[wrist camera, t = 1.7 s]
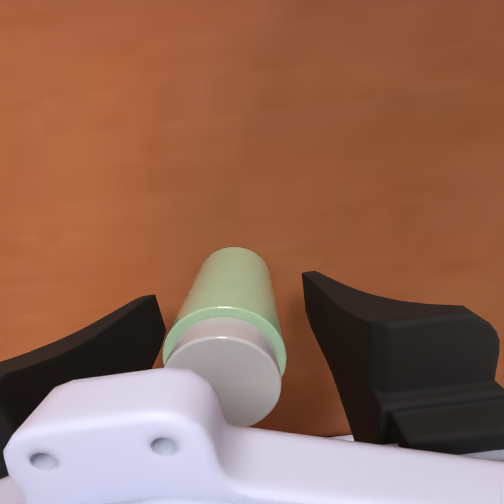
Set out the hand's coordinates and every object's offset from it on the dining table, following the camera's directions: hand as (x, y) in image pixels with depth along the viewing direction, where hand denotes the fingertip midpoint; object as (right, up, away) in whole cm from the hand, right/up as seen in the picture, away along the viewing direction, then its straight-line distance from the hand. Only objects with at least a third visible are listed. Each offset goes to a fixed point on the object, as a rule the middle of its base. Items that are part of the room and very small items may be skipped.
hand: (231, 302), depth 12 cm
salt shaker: (0, +1, +2) cm, 3 cm away
